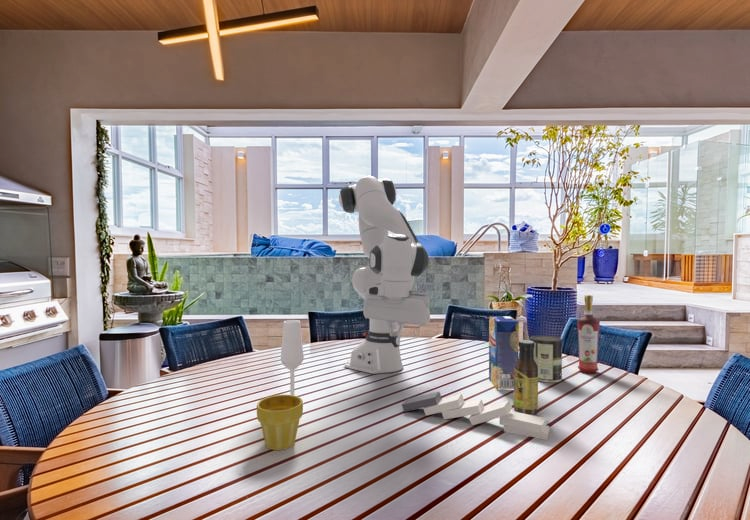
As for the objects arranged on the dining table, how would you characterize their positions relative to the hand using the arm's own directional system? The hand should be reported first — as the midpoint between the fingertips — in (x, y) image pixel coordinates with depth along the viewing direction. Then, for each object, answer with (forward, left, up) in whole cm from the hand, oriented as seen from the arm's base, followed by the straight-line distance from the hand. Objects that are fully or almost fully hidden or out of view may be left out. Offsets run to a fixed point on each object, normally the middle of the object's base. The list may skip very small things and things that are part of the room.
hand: (395, 336), depth 123 cm
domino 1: (+5, -3, -19) cm, 19 cm away
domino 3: (+16, -3, -19) cm, 25 cm away
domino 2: (+11, -3, -19) cm, 22 cm away
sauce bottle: (+35, +9, -20) cm, 41 cm away
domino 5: (+31, -3, -17) cm, 36 cm away
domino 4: (+24, -4, -19) cm, 31 cm away
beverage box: (+25, +31, -20) cm, 44 cm away
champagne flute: (-27, -14, -20) cm, 36 cm away
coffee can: (+37, +45, -20) cm, 61 cm away
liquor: (+50, +60, -20) cm, 80 cm away
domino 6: (+32, -3, -19) cm, 37 cm away
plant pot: (-13, -36, -20) cm, 43 cm away
